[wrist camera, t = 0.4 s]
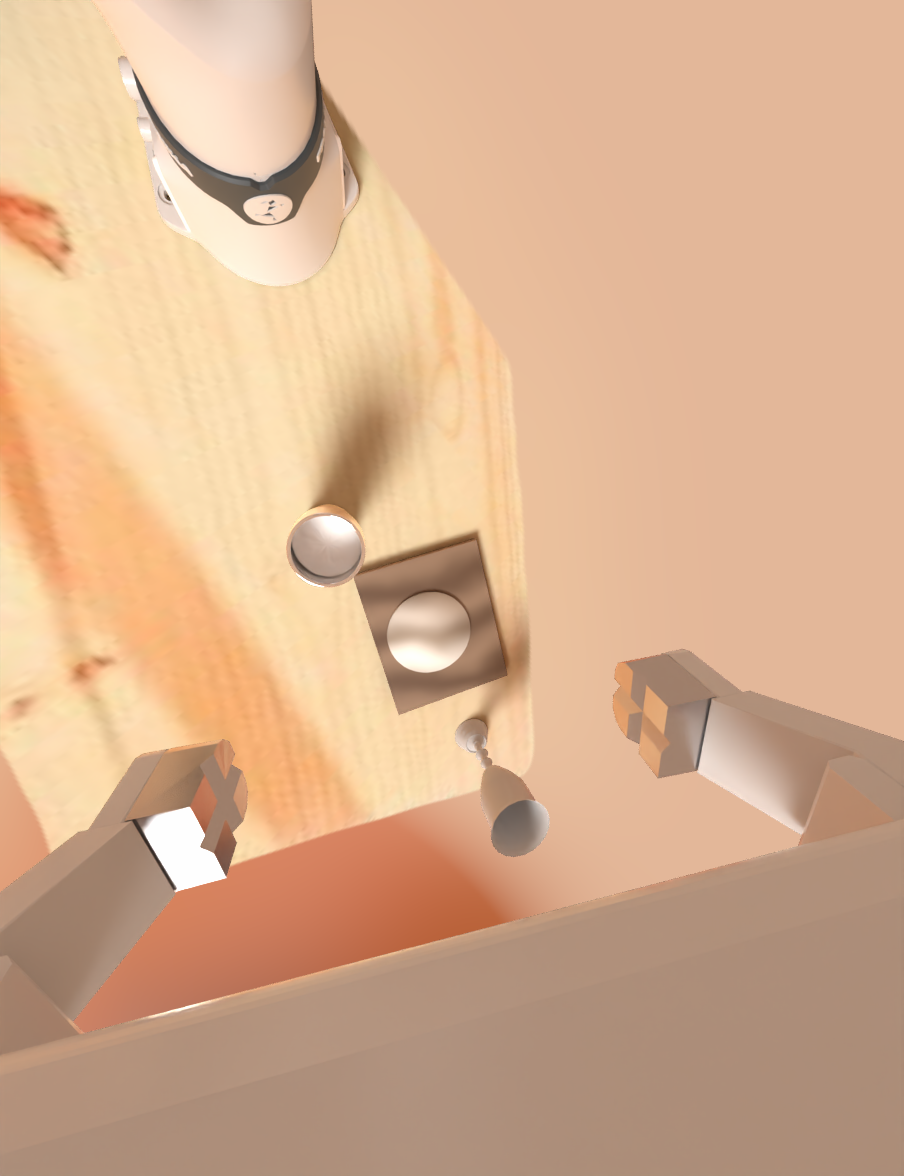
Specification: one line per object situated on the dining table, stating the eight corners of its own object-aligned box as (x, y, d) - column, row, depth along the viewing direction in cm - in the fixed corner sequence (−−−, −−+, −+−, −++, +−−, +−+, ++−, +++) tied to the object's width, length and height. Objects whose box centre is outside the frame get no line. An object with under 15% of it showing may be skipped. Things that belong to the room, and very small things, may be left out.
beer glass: (338, 489, 50) (339, 494, 36) (370, 540, 53) (382, 564, 39) (285, 519, 50) (266, 536, 36) (320, 569, 52) (314, 604, 38)
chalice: (445, 718, 61) (487, 810, 45) (490, 706, 63) (547, 791, 46) (452, 761, 64) (494, 864, 47) (495, 749, 65) (551, 845, 48)
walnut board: (353, 574, 53) (353, 577, 52) (473, 538, 56) (477, 540, 54) (397, 710, 59) (399, 716, 58) (504, 671, 62) (508, 676, 60)
